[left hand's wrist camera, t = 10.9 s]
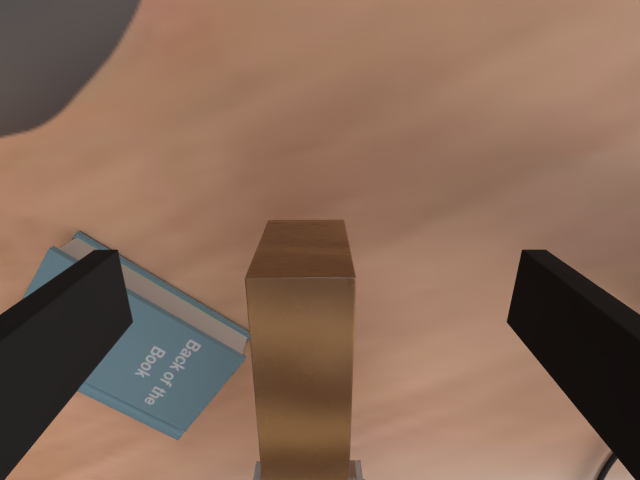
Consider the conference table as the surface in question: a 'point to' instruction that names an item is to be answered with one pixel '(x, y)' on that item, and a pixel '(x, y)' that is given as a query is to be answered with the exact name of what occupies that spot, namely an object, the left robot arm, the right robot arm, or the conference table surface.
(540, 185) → the conference table surface
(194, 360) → the book
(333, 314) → the bar
